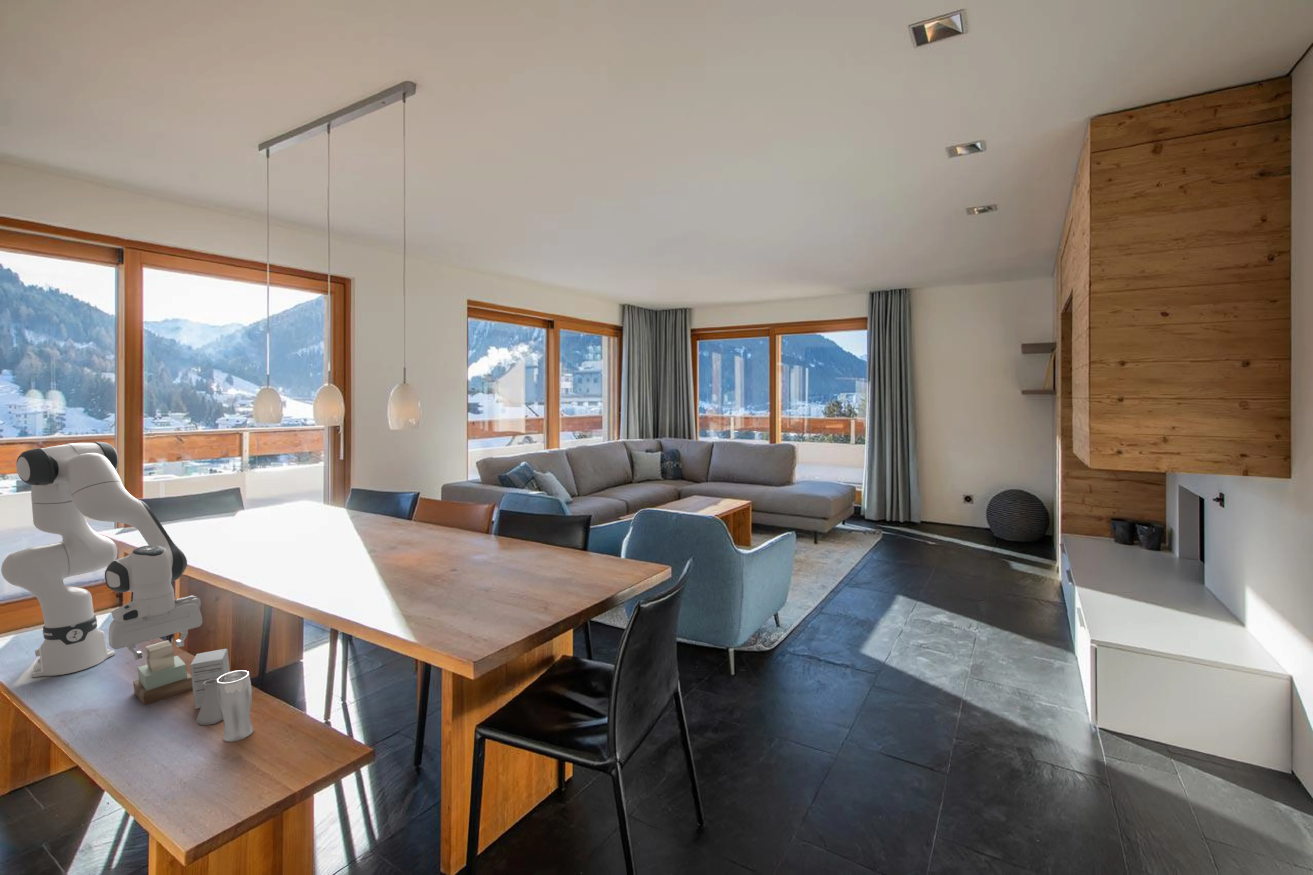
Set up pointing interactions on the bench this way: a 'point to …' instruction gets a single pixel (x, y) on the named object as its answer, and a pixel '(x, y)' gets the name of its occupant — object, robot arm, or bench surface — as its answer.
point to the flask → (209, 705)
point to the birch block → (160, 656)
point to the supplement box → (207, 671)
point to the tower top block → (162, 675)
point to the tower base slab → (162, 690)
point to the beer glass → (235, 704)
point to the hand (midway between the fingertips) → (159, 652)
